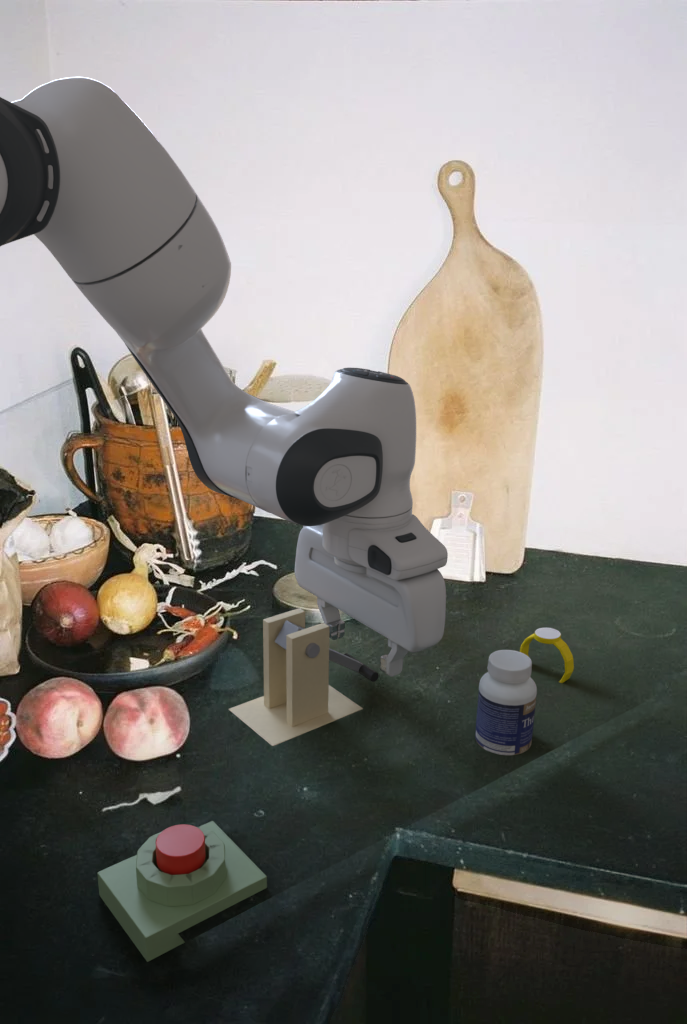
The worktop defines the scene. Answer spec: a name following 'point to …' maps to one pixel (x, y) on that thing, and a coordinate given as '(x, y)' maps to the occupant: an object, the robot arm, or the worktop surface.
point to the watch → (554, 638)
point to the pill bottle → (506, 704)
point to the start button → (180, 849)
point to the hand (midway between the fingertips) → (361, 653)
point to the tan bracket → (294, 683)
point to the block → (176, 891)
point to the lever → (330, 653)
